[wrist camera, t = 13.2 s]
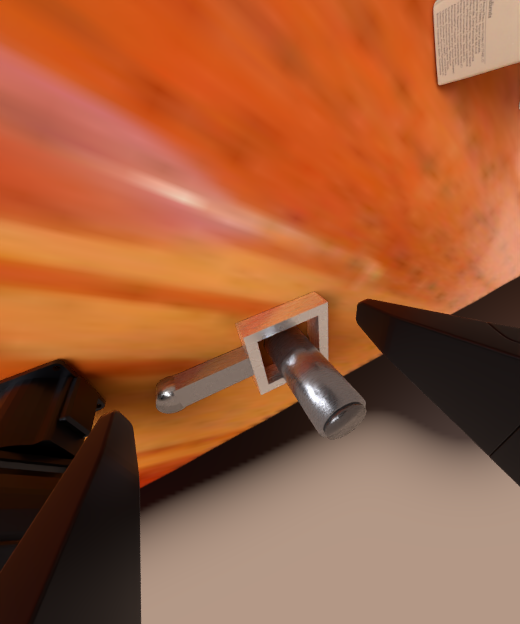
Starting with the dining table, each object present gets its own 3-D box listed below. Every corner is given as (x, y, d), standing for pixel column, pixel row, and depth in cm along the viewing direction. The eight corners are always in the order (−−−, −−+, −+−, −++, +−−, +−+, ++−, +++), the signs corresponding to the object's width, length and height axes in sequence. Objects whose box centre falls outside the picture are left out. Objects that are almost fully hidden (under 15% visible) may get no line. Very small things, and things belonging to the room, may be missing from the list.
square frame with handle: (174, 416, 27) (177, 436, 25) (134, 364, 21) (132, 384, 19) (316, 349, 31) (328, 362, 29) (314, 291, 25) (327, 302, 23)
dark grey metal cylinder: (267, 359, 28) (323, 450, 19) (260, 331, 25) (322, 422, 16) (299, 344, 29) (367, 424, 20) (296, 316, 26) (373, 394, 17)
